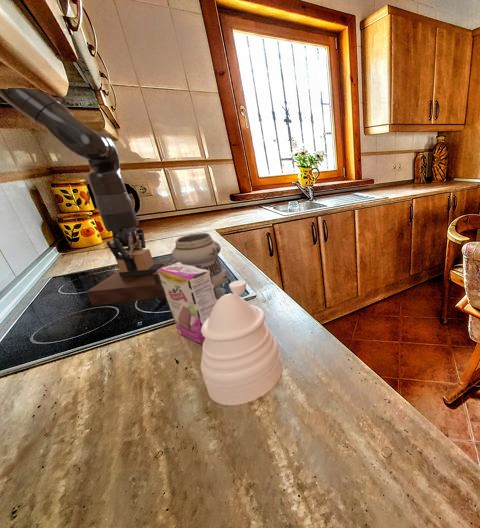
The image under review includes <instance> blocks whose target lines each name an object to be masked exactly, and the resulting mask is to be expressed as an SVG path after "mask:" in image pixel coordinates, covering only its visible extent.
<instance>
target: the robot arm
mask: <svg viewBox="0 0 480 528" xmlns="http://www.w3.org/2000/svg"><path fill="white" fill-rule="evenodd" d="M48 94H49V93H48ZM48 94H46V93H44V92H42V91H40V90H38V89H26V88H8V89H0V98H2V99H3V100H4V101H5V102H7V103H8V104H9V105H10V106H11V107H13V108H15V109H16V110H17V111H18V112H19V113H21V114H23V115H24V116H26V117H27V118H29V119H30V120H31V121H32V122H34V123H36V124H37V125H39V126H40V127H42V128H44V129H45V130H47V132H48V133H49V134H51V135H52V136H53V137H54V138H55V139H56V140H57V141H58V142H59V143H61V144H62V145H63V147H65V148H66V149H68V150H69V151H71V152H72V153H73V154H75V155H77V156H79V157H80V158H82V159H84V160H85V159H86V160H87V163H88V166H89V172H88V173H87V176H86V177H87V181H88V184H89V187H90V189H91V191H92V194H93V197H94V202H95V206H96V208H97V211H98V213H99V216H100V218H101V221H102V223H103V226H104V229H106V230H108V231H110V232H111V235H112V239H111V240H107V241H106V246H107V247H108V248H109V250H110V251H111V253H112V254H113V256H114V259H115V258H116V259H117V260H124V263H125V265H126V268H127V270H128V271H136V270H137V267H136V264H135V261H134V258H133V255H132V251H133V250H144V249H147V248H146V239H145V233H144V229H143V228H137V226H138V225H139V220H138V217H137V213H136V211H135V208H134V205H133V202H132V199H131V197H130V195H129V194H128V190H127V187H126V185H125V182H124V180H123V177H122V173H121V164H120V159H119V152H118V149H117V146H116V145H115V143H114V141H113V140H112V138H111V137H110V136H109V135H108V134H106V133H104V132H102V131H98V130H93V129H91V128H89V127H88V126H86V125H85V124H84V123H82V122H81V121H80V120H79V119H78V118H76V117H75V116H74V113H73V112H72V110H70V109H69V108H68V107H67V106H65V105H64V104H63V103H62V102H60V101H59V100H57V98H55V97H53V96H52V95H51V94H49V95H48ZM126 251H127V252H128V255H127V253H126ZM119 254H120V255H119ZM116 259H115V260H116Z"/></svg>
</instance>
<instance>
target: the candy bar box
mask: <svg viewBox="0 0 480 528" xmlns="http://www.w3.org/2000/svg"><path fill="white" fill-rule="evenodd" d="M157 272H158V274H159V277H160V280H161V283H162V286H163V289H164V292H165V295H166V298H167V301H168V302H167V304H168V306H169V309H170V312H171V315H172V318H173V321H174V324H175V328H176V331H177V333H178V335H180V336H183V337H184V338H186V339H189V340H191V341H193V342H195V343H197V344H199V345H201V346H203V342H204V341H205V337H204V336H203V335H202V332H201V328H202V325H203V323H204V322H205V321H206V320H207V319H208V318H209V317H210V314H211V311H212V309H213V307H214V305H215V303H216V302H217V301H218V300H217V297H216V293H215V289H214V285H213V282H212V277H211V274H210V271H209V270H205V269H202V268H198V267H194V266H191V265H187V264H184V263H180V262H178V263H175V264H172V265H168V266H166V267H162V268H160V269H158V270H157Z"/></svg>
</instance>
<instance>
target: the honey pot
mask: <svg viewBox="0 0 480 528" xmlns="http://www.w3.org/2000/svg"><path fill="white" fill-rule="evenodd" d="M228 287H229V289H230V292H231V293H228V294H225V295H223V296H222V297H220V298H219V299H218V301H217V302H216V303H215V305H214V307H213V309H212V311H211V314H210V317H209V318H208V319H207V320H206V321H205V322H204V323H203V325H202V328H201V332H202V335H203V336H204V337H205V341H204V342H203V345H202V348H201V350H202V353H201V359H200V365H199V366H200V368H199V369H200V371H201V374H202V378H203V382H204V384H205V387H206V391H207V394H208V397H209V398H210V399H211V400H212V401H213V402H214V403H217V404H218V405H222V406H239V405H240V406H241V405H244V404H248V403H250V402H254V401H255V400H258V399H260V398H261V397H263V396H264V395H266V394H268V392H270V391H271V390H272V389H273V388H274V387H275V386H276V385H277V383H278V382H279V380H280V378H281V376H282V371H283V365H282V360H281V355H280V350H279V349H280V348H279V344H278V341H277V339H276V338H275V336H274V335H273V333H272V332H271V330H270V326H268V325H267V323H265V320H266V315H265V311H264V310H263V309H262V308H260V307H259V306H256V305H252V304H250V303H249V302H248V301H247V300H245V299H244V298H243V297H242V296H240V295H242V294H244V292H245V291H246V289H247V281H246V280H243V279H239V280H234V281H232V282H230V283H229V284H228Z"/></svg>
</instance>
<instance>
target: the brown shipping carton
mask: <svg viewBox="0 0 480 528" xmlns="http://www.w3.org/2000/svg"><path fill="white" fill-rule="evenodd" d="M126 253H127V255H128V252H127V251H126ZM119 255H120V253H119ZM132 255H133V258H134V261H135V264H136V267H137V270H136V271H128V270H127V268H126V265H125V263H124V260H117V259H116V258H115V257H114V259H115V261H116V263H117V266H118V269H119V270H120V271H121V272H119V274H120V277H129V276H139V275H149V274H154V273H155V272H156V271H157V270H158V269H160V268H161V267H162V266H163V265H164V264H154V262H155V261H154V259H153V256H152V253H151V250H150V248H148V249H147V248H143V250H133V251H132Z"/></svg>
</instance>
